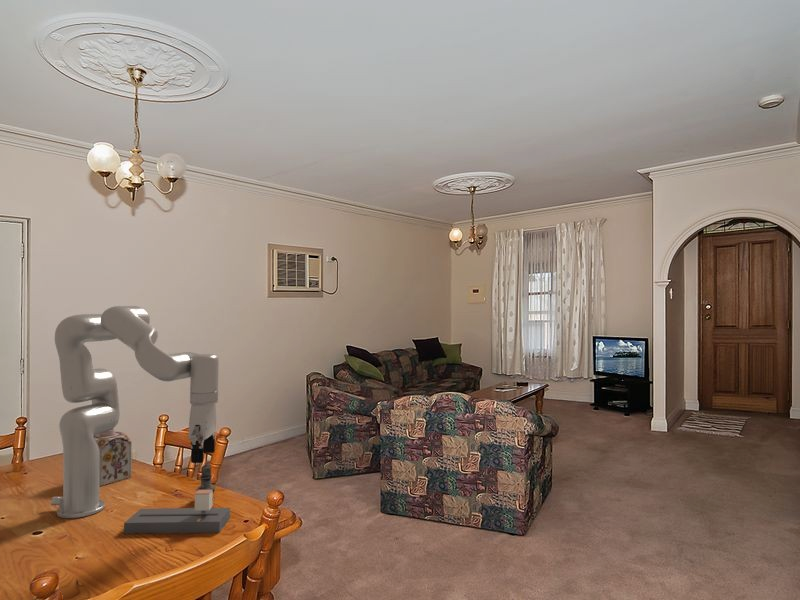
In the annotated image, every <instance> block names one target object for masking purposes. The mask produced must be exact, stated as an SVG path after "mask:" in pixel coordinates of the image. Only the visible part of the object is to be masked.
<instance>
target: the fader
mask: <svg viewBox="0 0 800 600" xmlns="http://www.w3.org/2000/svg"><path fill="white" fill-rule="evenodd" d="M213 495H214V493H213V490H198V491H196V492H195V493H194V508H195V511H199V510H201V515H202V514H206V513H207V510H210V509H211V508H213V501H214V500H213V497H214V496H213Z"/></svg>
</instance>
